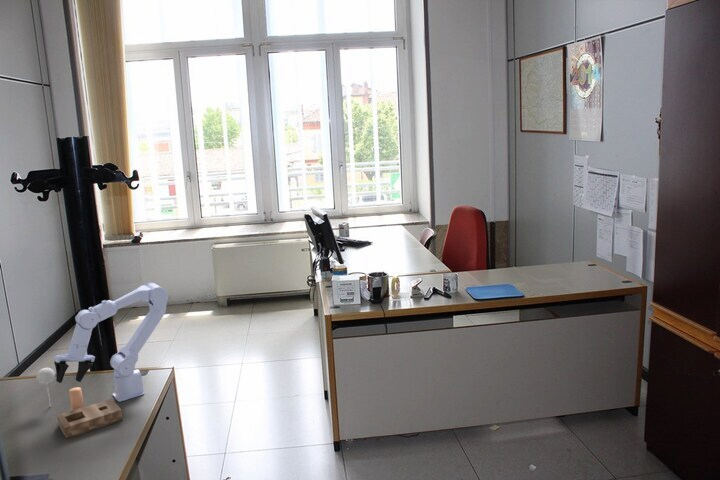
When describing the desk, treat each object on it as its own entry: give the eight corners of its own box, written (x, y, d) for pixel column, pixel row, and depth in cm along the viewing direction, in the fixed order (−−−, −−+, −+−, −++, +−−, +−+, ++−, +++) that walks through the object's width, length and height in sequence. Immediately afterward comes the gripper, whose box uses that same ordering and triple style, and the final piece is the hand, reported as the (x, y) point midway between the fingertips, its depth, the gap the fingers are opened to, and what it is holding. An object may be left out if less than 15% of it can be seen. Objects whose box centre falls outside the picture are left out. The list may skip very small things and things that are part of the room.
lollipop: (51, 411, 214) (45, 372, 211) (37, 410, 216) (31, 371, 212) (63, 403, 220) (57, 365, 217) (49, 402, 222) (43, 364, 218)
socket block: (113, 408, 215) (111, 398, 214) (122, 420, 206) (121, 409, 205) (58, 426, 204) (56, 415, 203) (66, 439, 195) (64, 427, 194)
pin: (82, 406, 217) (79, 386, 215) (85, 410, 214) (82, 390, 212) (70, 410, 215) (67, 389, 213) (73, 414, 212) (70, 393, 210)
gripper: (90, 340, 220) (79, 376, 219) (53, 340, 207) (42, 378, 207) (102, 346, 216) (91, 383, 216) (65, 346, 204) (54, 385, 203)
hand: (68, 381), depth 211 cm, fingers open, 7 cm apart
